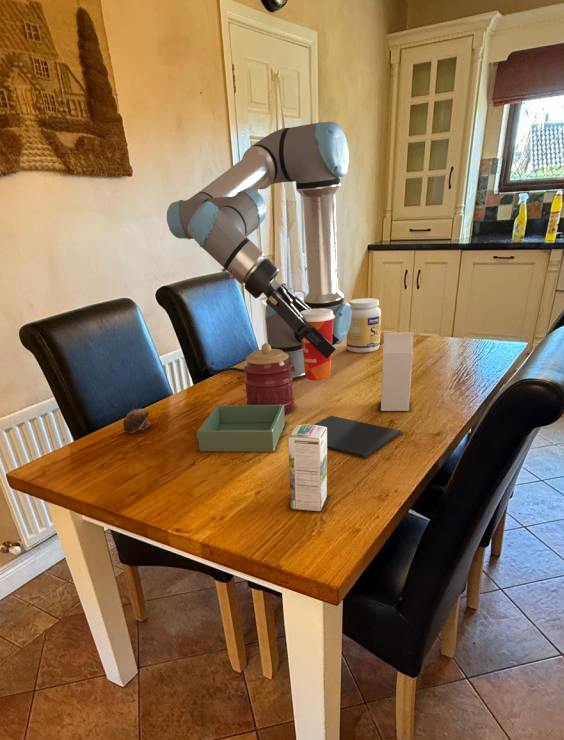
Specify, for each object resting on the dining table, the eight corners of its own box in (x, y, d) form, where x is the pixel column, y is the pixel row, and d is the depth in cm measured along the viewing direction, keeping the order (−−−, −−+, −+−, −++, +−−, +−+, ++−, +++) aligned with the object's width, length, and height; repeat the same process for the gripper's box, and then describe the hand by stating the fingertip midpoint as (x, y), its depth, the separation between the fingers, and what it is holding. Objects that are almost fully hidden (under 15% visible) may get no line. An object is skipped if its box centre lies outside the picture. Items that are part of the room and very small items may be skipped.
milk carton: (408, 411, 132) (414, 335, 123) (380, 411, 134) (383, 336, 124) (408, 402, 138) (413, 329, 129) (381, 402, 140) (384, 330, 130)
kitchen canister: (301, 403, 144) (298, 338, 135) (282, 419, 134) (278, 350, 125) (260, 399, 149) (254, 337, 140) (239, 415, 139) (231, 348, 130)
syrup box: (298, 494, 99) (294, 423, 92) (328, 496, 97) (327, 424, 90) (290, 509, 94) (286, 435, 87) (322, 512, 93) (320, 437, 85)
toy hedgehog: (161, 414, 134) (143, 398, 131) (149, 436, 130) (130, 419, 127) (145, 424, 139) (127, 408, 136) (132, 445, 135) (113, 430, 132)
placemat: (292, 438, 123) (292, 436, 122) (330, 417, 133) (330, 415, 132) (364, 457, 111) (364, 455, 110) (400, 433, 121) (400, 430, 120)
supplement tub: (371, 354, 182) (373, 304, 174) (340, 352, 188) (340, 303, 180) (385, 346, 191) (387, 297, 182) (355, 344, 197) (355, 297, 188)
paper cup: (298, 373, 119) (296, 309, 111) (331, 370, 119) (331, 306, 112) (303, 383, 112) (300, 316, 105) (338, 380, 112) (337, 313, 105)
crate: (199, 451, 120) (196, 431, 118) (219, 423, 135) (216, 405, 132) (273, 451, 117) (272, 431, 114) (285, 422, 132) (284, 404, 129)
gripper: (253, 279, 117) (325, 349, 122) (231, 294, 99) (316, 375, 105) (274, 251, 113) (348, 325, 118) (255, 262, 96) (342, 347, 101)
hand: (332, 348), depth 111 cm, fingers closed on paper cup, 8 cm apart
